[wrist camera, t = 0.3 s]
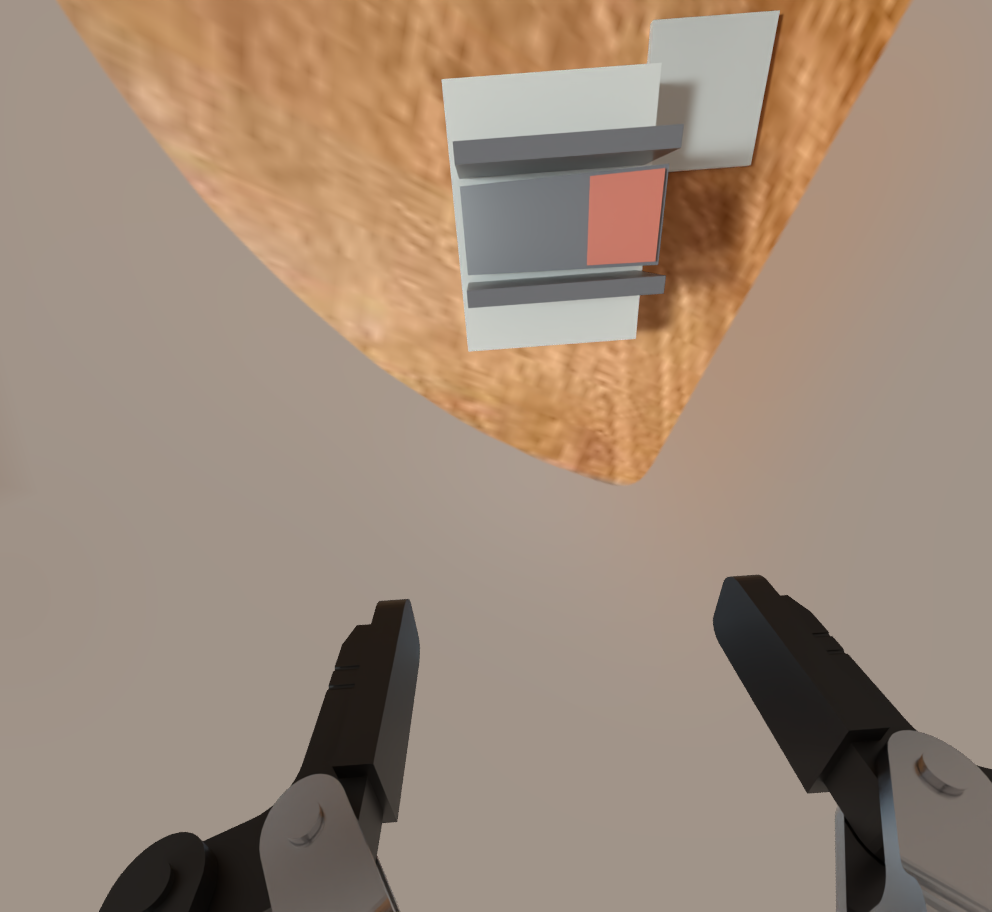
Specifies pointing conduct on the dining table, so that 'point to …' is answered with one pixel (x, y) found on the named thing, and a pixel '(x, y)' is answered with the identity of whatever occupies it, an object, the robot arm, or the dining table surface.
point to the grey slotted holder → (544, 153)
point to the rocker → (565, 221)
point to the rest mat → (712, 85)
